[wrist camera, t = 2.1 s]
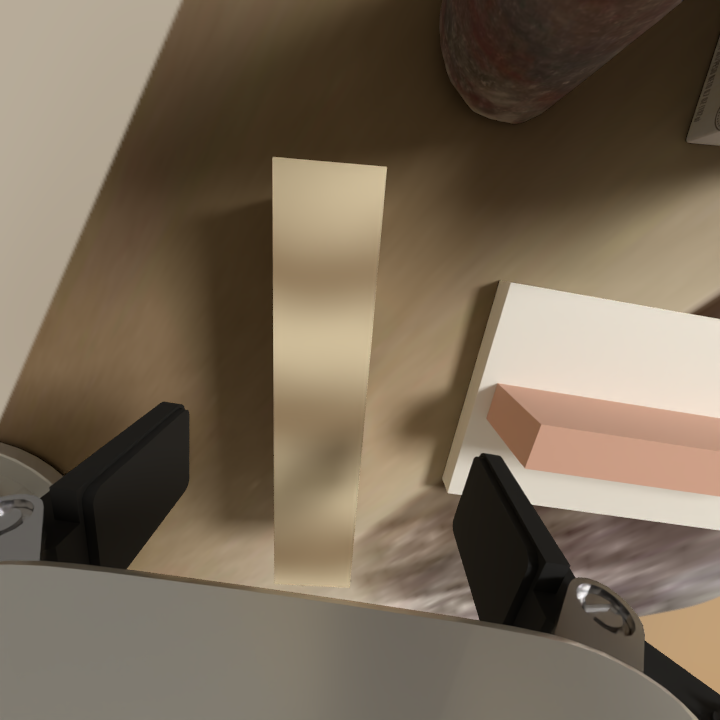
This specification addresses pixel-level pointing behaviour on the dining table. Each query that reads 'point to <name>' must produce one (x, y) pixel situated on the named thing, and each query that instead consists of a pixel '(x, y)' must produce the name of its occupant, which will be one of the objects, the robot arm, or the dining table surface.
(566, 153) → the dining table surface
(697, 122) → the coffee box
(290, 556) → the maple bar
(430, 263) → the dining table surface
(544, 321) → the stand
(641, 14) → the candle
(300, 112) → the dining table surface
